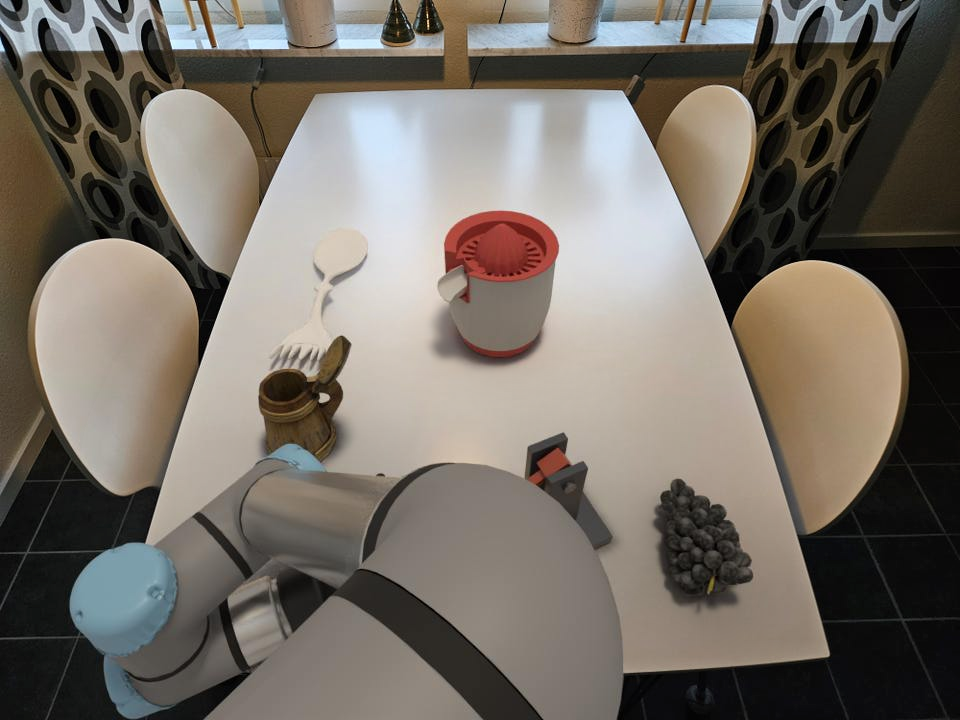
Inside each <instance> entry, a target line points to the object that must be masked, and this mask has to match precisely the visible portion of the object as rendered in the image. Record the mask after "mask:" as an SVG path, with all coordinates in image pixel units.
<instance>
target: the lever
mask: <svg viewBox="0 0 960 720" xmlns="http://www.w3.org/2000/svg"><path fill="white" fill-rule="evenodd" d="M537 464H538V466H539V468H540V469H541V470H539V471H538V472H536V473H535V474H534V475H532V476H531V477H529V478H528V479H527V480H528V481H530V482H532V483H534V484H535V485H537V486H538V487H539V486H541V485H542V484H544V483H545V482H546V476H548V475H550V474H553V473H555V472H558V471H560V470H562V469H565V468H567V467H570V466H572V465H573V464H572V463H571V461H570V460H569V458H568V456H567V455H566V454H564V453H563V452H562V451H561V450H560V449H559V448H556V449H555V450H554V451H552V452H551V453H549V454H548V455H547V456H545V457H544V458H542V459H541V460H540V461H538V462H537Z"/></svg>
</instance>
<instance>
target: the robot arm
mask: <svg viewBox="0 0 960 720" xmlns="http://www.w3.org/2000/svg"><path fill="white" fill-rule="evenodd" d="M524 478H525V477H523V476H520V475H518V474H515V473H513V472H511V471H507V470H505V469H501V468H499V467H498V468H497V467H494V466H491V465H488V464H480V463H468V462H437V463H430V464H426V465H422V466H420V467H418V468H415V469H413V470H411V471H409V472H408V473H406V474H404V475H403V476H402V477H395V476H386V474H385V473H382V472H380V473H377V474H375V475H371V474H361V473H360V474H357V473H347V472H335V471H334V472H333V471H328V470H327V469H326V468H325V466H323V464H322V462H321V461H320V462H319V461H318V460H317V459H316V458H315V457H314V456H313V455H312V454H311V453H310V452H308V451H307V450H304V449H303V448H302V447H301V446H299V445H296V444H286V445H283V446H282V447H280V448H279V449H277V450H276V451H275V452H273V453H272V454H270V455H266V456H265V457H263V458H261V459H259V460H258V461H257V462H255V464H254V466H253V467H251V468H250V469H249V470H248V471H247V472H246V473H245V474H243V475H241V477H239V478H238V479H236V481H234V482H233V483H232V484H231V485H230V486H228V487H227V488H226V489H224V490H223V491H222V492H221V493H219V494H218V495H217V496H216V497H214V498H213V499H212V500H211V501H209V502H208V503H207V504H206V505H205V506H203V507H202V508H201V509H200V510H198V511H197V512H195V513H194V514H193V515H191V516H189V517H188V518H187V519H185V521H183V522H181V524H179V525H177V527H175V528H174V529H173V530H171V531H170V532H169V533H167V535H165V536H164V537H163V538H161V539H160V540H158V541H157V542H156V543H155V544H153V545H152V544H148V543H145V542H127V543H125V544H123V545H120V546H117V547H114V548H110V549H107V550H105V551H102V552H101V553H100V554H99V555H97V556H96V557H95V558H93V559H92V560H91V561H90V562H89V563H87V565H86V566H84V568H83V570H82V571H81V572H80V574H79V575H78V576H77V579H76V580H75V582H74V584H73V586H72V589H71V593H70V598H69V612H70V617H71V619H72V622H73V624H74V626H75V628H76V629H77V630H78V631H79V632H80V633H81V634H82V635H83V636H84V637H85V638H87V640H89V642H90V644H91V645H92V646H93V647H94V649H96V650H97V651H98V653H100V654H101V655H103V656H104V657H103V674H104V675H103V676H104V682H105V686H106V690H107V692H108V695H109V698H110V700H111V702H112V703H114V704H115V708H116V710H117V712H118V713H119V714H120V715H122V717H124V718H126V719H129V720H137V719H141V718H144V717H147V716H149V715H151V714H155V713H157V712H159V711H164V710H169V709H171V708H173V707H175V706H177V705H178V704H179V703H181V702H183V701H184V700H187V699H189V698H191V697H193V696H196V695H198V694H199V693H202V692H204V691H206V690H208V689H211V688H212V687H215V686H217V685H218V684H221V683H223V682H226V681H228V680H230V679H232V678H234V677H236V676H238V675H241V674H243V673H244V672H247V671H249V670H251V669H254V668H255V669H254V670H253V671H252V672H251V673H250V674H249V675H248V676H247V677H246V678H245V679H244V680H243V681H242V682H241V683H240V684H239V685H238V686H237V687H236V688H235V689H233V691H232V692H230V693H229V695H228V696H226V697H225V698H224V699H223V700H222V701H221V702H220V703H219V704H218V705H217V706H216V707H215V708H214V709H213V710H211V712H210V713H209V714H207V716H205V718H203V720H618V715H619V710H620V707H621V701H622V696H623V695H622V693H623V686H624V647H623V633H622V627H621V619H620V614H619V611H618V607H617V603H616V600H615V597H614V593H613V589H612V587H611V582H610V579H609V577H608V574H607V571H606V570H605V568H604V565H603V563H602V561H601V558H600V557H599V556H598V553H597V552H596V549H594V548H593V546H592V545H591V543H590V541H589V539H588V537H587V536H586V534H585V533H584V532H583V530H582V529H581V527H580V526H579V525H578V523H577V522H576V521H575V520H574V519H573V518H572V517H571V516H570V514H569V513H568V512H567V511H566V510H565V509H564V508H563V507H562V505H561V504H560V503H559V502H558V501H556V500H555V499H554V498H552V497H551V496H550V495H548V494H547V493H546V492H544V491H543V490H542V489H540V488H539V487H538V486H537V485H535V484H534V483H532V482H530V481H528V480H526V479H524ZM272 559H274V560H276V561H278V562H280V563H282V564H285V565H287V566H286V567H284V568H281V569H280V570H278V573H276V575H275V578H273V577H271V576H269V575H264V576H262V577H260V578H257V579H254V580H253V581H250V582H247V581H248V580H250V578H251V577H253V576H254V575H255V574H256V573H257V572H258V571H259V570H260V569H262V568H263V567H264V566H265V565H266V564H267V563H269V561H271V560H272ZM245 582H247V583H246V584H244V583H245Z"/></svg>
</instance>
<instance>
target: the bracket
mask: <svg viewBox="0 0 960 720" xmlns="http://www.w3.org/2000/svg"><path fill="white" fill-rule="evenodd" d="M568 443H569V437H568V436H567V434H566V433H565V432H564V431H563V432H560V433H558V434H556V435H552V436H551V437H548V438H545V439H543V440H540V441H537V442H535V443H533V444H530V445H528V446H527V449H526V458H525V467H524V477H523V478H524V479H526V480H527V479H528V478H529V477H531V476H532V475H534V474H535V473H536V472H538V471H539V470H541V469H540V468H539V466H538V464H537V462H538V461H540V460H541V459H542V458H544V457H545V456H547V455H548V454H549V453H551V452H552V451H554V450H555V449H556V448H559V449H560V450H561V451H562V452H563V453H564V454H565V455H566V454H567V448H568ZM588 471H589V467H588V465H587V464H586V462H585V461H584V460H582V461H579V462H576V463H575V464H572V466H570V467H567V468H565V469H562V470H560V471H558V472H555V473H553V474H550V475H548V476H546V482H545V483H544V484H542V485H541V486H539V488H540V489H542V490H543V491H544V492H546V493H547V494H548V495H550V496H551V497H552V498H554V499H555V500H556V501H558V502H559V503H560V504H561V505H562V507H563V508H564V509H565V510H566V511H567V512H568V513H569V514H570V516H571V517H572V518H573V519H574V520H575V521H576V522H577V523H578V525H579V526H580V527H581V529H582V530H583V532H584V533H585V534H586V536H587V537H588V539H589V541H590V543H591V545H592V546H593V548H594V550H596V549H598V548H601V547H603V546H605V545H607V544H610V543H612V540H613V537H614V536H613V535H612V533H611V531H610V530H609V529H608V526H606V524H605V522H604V521H603V519H602V518H601V516H600V515H599V513H598V512H597V511H596V509H595V508H594V506H593V504H592V503H591V501H590V499H589V498H588V497H587V495H586V494H585V492H584V488H585V483H586V479H587V476H588V475H587V474H588Z"/></svg>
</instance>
